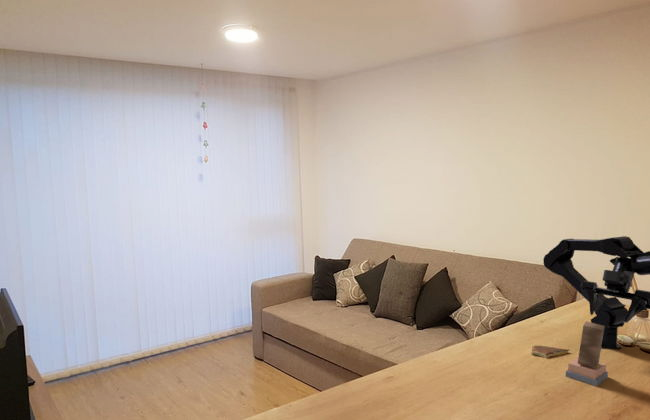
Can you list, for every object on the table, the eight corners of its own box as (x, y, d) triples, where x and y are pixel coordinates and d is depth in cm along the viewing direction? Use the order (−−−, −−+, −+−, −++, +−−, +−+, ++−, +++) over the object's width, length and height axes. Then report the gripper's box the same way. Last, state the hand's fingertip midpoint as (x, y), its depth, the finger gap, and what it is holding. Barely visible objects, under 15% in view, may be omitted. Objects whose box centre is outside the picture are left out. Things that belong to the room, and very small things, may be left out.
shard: (569, 354, 148) (569, 348, 148) (570, 363, 141) (570, 357, 141) (531, 348, 152) (532, 343, 152) (530, 357, 146) (531, 351, 145)
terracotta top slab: (568, 370, 132) (568, 363, 132) (579, 363, 136) (579, 356, 136) (594, 379, 126) (595, 371, 126) (605, 371, 131) (606, 364, 130)
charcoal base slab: (565, 378, 132) (565, 371, 132) (577, 369, 137) (577, 362, 137) (596, 388, 126) (596, 380, 126) (607, 379, 131) (608, 371, 131)
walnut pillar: (577, 363, 130) (583, 325, 129) (580, 358, 134) (586, 321, 132) (596, 368, 127) (602, 330, 126) (598, 363, 131) (604, 325, 129)
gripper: (583, 255, 148) (567, 296, 142) (653, 264, 134) (639, 310, 128) (591, 275, 154) (577, 316, 148) (660, 286, 140) (646, 331, 134)
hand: (608, 318), depth 139 cm, fingers open, 9 cm apart
